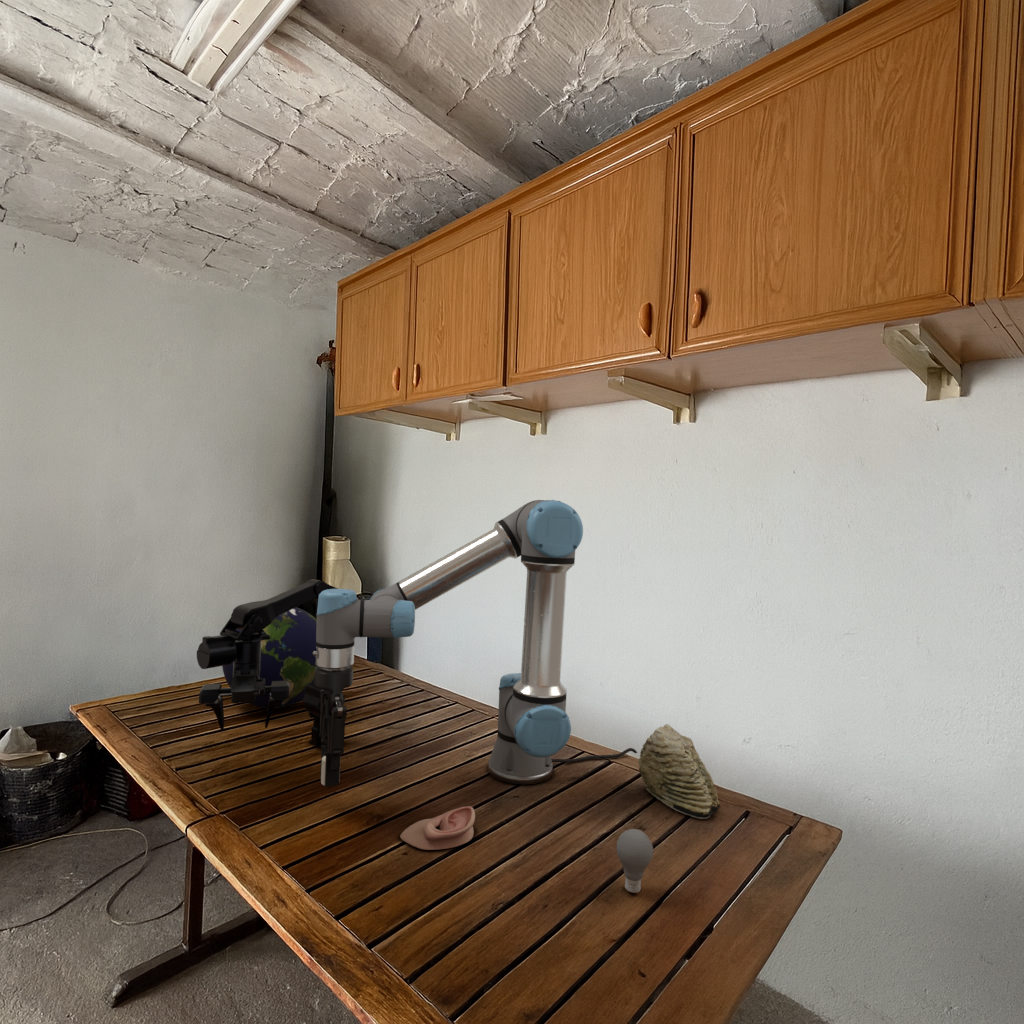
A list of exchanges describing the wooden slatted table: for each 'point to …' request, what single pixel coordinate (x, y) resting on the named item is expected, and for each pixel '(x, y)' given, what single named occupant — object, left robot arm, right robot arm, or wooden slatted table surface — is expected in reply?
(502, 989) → the wooden slatted table surface
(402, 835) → the anatomical model
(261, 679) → the left robot arm
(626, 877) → the light bulb
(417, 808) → the wooden slatted table surface
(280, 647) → the globe
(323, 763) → the cylinder
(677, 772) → the fossil
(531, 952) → the wooden slatted table surface
